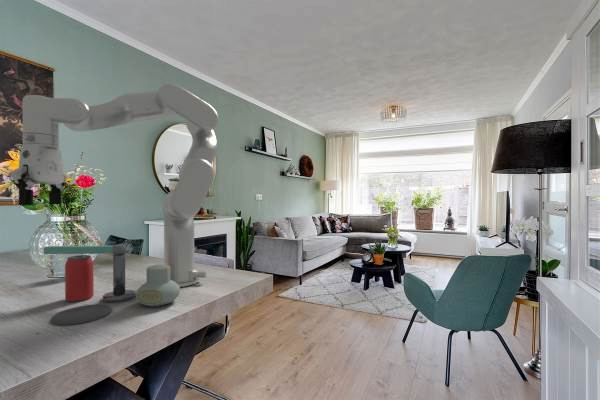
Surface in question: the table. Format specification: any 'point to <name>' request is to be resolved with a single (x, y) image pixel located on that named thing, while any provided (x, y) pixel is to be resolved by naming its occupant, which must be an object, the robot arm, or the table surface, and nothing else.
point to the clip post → (118, 282)
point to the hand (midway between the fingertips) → (41, 204)
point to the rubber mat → (81, 314)
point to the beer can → (79, 278)
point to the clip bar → (86, 249)
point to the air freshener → (158, 287)
